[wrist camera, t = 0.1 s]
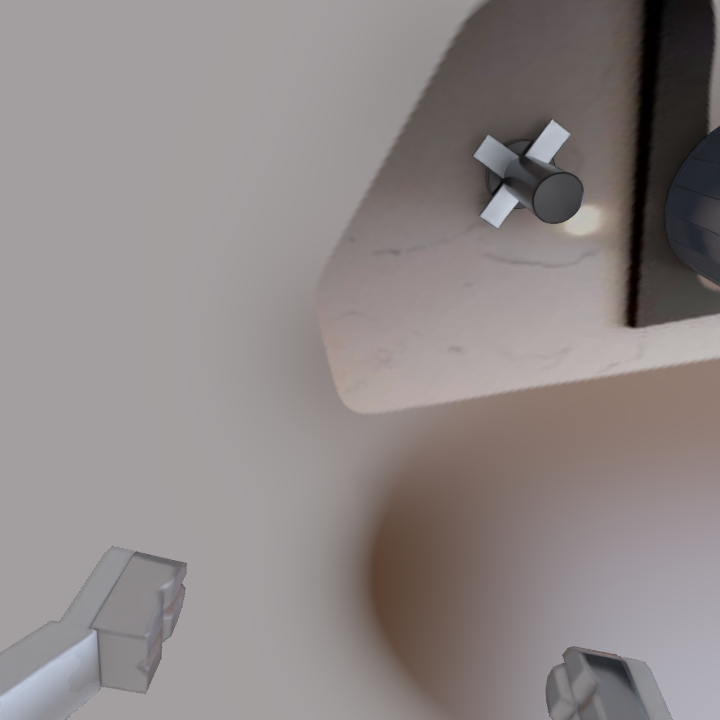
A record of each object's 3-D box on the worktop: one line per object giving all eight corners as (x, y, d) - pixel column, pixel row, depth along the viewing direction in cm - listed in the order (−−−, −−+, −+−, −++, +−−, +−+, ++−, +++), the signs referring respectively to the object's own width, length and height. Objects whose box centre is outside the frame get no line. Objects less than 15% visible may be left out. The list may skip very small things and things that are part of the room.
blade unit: (511, 92, 32) (553, 89, 23) (594, 156, 33) (664, 176, 24) (444, 189, 35) (459, 219, 26) (523, 244, 36) (561, 290, 28)
